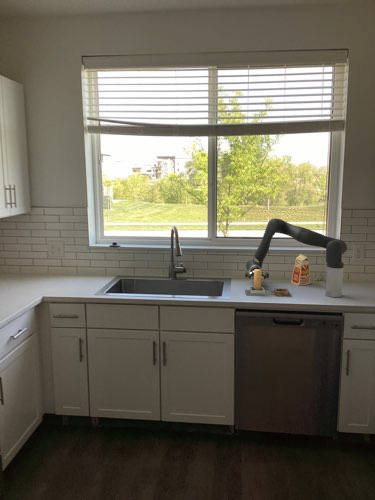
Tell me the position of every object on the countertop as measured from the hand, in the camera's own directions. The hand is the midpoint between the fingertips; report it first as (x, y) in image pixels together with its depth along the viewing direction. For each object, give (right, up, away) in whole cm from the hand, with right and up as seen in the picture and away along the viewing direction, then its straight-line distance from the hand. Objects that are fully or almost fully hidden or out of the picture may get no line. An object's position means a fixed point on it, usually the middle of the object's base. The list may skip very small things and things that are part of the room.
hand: (257, 277), depth 247 cm
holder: (+14, -11, -1) cm, 18 cm away
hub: (0, -10, +2) cm, 11 cm away
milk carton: (+34, -6, +30) cm, 45 cm away
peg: (0, -9, +2) cm, 10 cm away
